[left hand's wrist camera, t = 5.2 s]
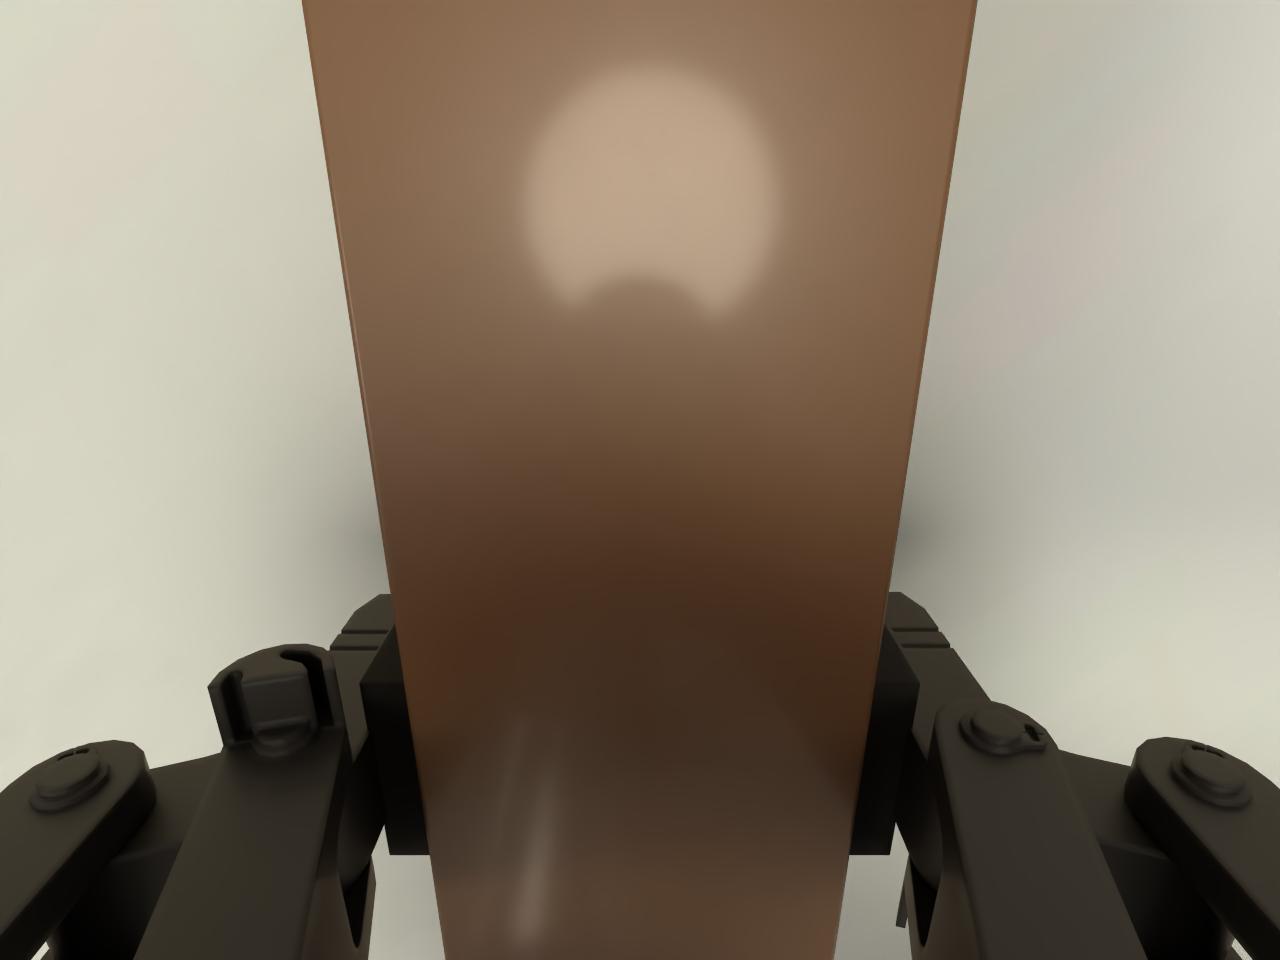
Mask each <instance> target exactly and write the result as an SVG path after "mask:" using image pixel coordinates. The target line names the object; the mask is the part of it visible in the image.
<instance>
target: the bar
mask: <svg viewBox="0 0 1280 960" xmlns="http://www.w3.org/2000/svg"><path fill="white" fill-rule="evenodd" d="M977 1H978V0H302V6H303V12H304V19H305V26H306V32H307V39H308V46H309V52H310V59H311V66H312V72H313V79H314V86H315V92H316V99H317V106H318V112H319V119H320V126H321V132H322V139H323V146H324V152H325V159H326V166H327V172H328V179H329V186H330V192H331V199H332V206H333V212H334V219H335V226H336V232H337V239H338V246H339V252H340V259H341V266H342V272H343V279H344V286H345V292H346V299H347V306H348V312H349V319H350V326H351V332H352V339H353V346H354V352H355V359H356V366H357V372H358V379H359V386H360V392H361V399H362V406H363V412H364V419H365V426H366V432H367V439H368V446H369V452H370V459H371V466H372V472H373V479H374V486H375V492H376V499H377V506H378V512H379V519H380V526H381V532H382V539H383V546H384V552H385V559H386V566H387V572H388V579H389V586H390V592H391V599H392V606H393V612H394V619H395V626H396V632H397V639H398V646H399V652H400V659H401V666H402V672H403V679H404V686H405V692H406V699H407V706H408V712H409V719H410V726H411V732H412V739H413V746H414V752H415V759H416V766H417V772H418V779H419V786H420V792H421V799H422V806H423V812H424V819H425V826H426V832H427V839H428V846H429V852H430V859H431V866H432V872H433V879H434V885H435V892H436V899H437V905H438V912H439V919H440V925H441V932H442V939H443V945H444V952H445V959H446V960H834V953H835V947H836V940H837V933H838V927H839V920H840V913H841V907H842V900H843V893H844V887H845V880H846V873H847V867H848V860H849V853H850V847H851V840H852V833H853V827H854V820H855V813H856V807H857V800H858V793H859V787H860V780H861V773H862V767H863V760H864V753H865V747H866V740H867V733H868V727H869V720H870V713H871V707H872V700H873V693H874V687H875V680H876V673H877V667H878V660H879V653H880V647H881V640H882V633H883V627H884V620H885V613H886V607H887V600H888V594H889V587H890V580H891V574H892V567H893V560H894V554H895V547H896V540H897V534H898V527H899V520H900V514H901V507H902V500H903V494H904V487H905V480H906V474H907V467H908V460H909V454H910V447H911V440H912V434H913V427H914V420H915V414H916V407H917V400H918V394H919V387H920V380H921V374H922V367H923V360H924V354H925V347H926V340H927V334H928V327H929V320H930V314H931V307H932V300H933V294H934V287H935V280H936V274H937V267H938V260H939V254H940V247H941V240H942V234H943V227H944V220H945V214H946V207H947V200H948V194H949V187H950V181H951V174H952V167H953V161H954V154H955V147H956V141H957V134H958V127H959V121H960V114H961V107H962V101H963V94H964V87H965V81H966V74H967V67H968V61H969V54H970V47H971V41H972V34H973V27H974V21H975V14H976V7H977Z"/></svg>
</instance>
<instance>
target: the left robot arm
mask: <svg viewBox="0 0 1280 960" xmlns="http://www.w3.org/2000/svg"><path fill="white" fill-rule="evenodd" d="M341 631H342V632H341V634H338V636H337V637H336V639H335V640H334V641H333V643H332V644H331V646H330V650H329V651H326V650H325V649H324V648H322V647H318V646H314V645H310V644H284V645H280V646H276V647H271V648H267V649H263V650H260V651H257V652H255V653H252V654H250V655H248V656H245V657H243V658H241V659H238V660H237V661H235V662H234V663H232V664H231V665H229V666H228V667H226V668H225V669H223V670H222V671H220V672H219V673H218V674H217V676H216V677H215V678H214V679H213V681H212V682H211V683H210V684H209V685H208V691H209V694H210V698H211V702H212V705H213V709H214V713H215V716H216V720H217V723H218V727H219V731H220V734H221V738H222V742H223V745H224V746H223V748H222V750H221V753H217V754H214V755H210V756H207V757H203V758H199V759H194V760H190V761H185V762H181V763H176V764H172V765H167V766H163V767H158V768H154V769H149V766H148V763H147V760H146V757H145V754H144V751H142V750H141V749H140V748H139V747H138V746H136V745H135V744H134V743H131V742H125V741H118V740H110V741H103V742H95V743H89V744H86V745H82V746H78V747H76V748H72V749H69V750H67V751H64V752H61V753H59V754H57V755H55V756H53V757H51V758H49V759H47V760H46V761H44V762H42V763H40V764H38V765H36V766H34V767H32V768H31V769H30V770H28V771H27V772H26V773H24V774H23V775H22V776H20V777H19V778H18V779H16V780H15V781H14V782H12V783H11V784H10V785H8V786H7V787H6V788H5V789H4V790H3V791H2V792H1V793H0V960H31V959H32V958H33V957H34V955H35V954H36V953H37V952H38V950H39V949H40V948H41V947H42V945H43V944H44V943H45V942H47V945H48V947H49V950H48V951H47V952H46V953H45V955H44V956H43V957H42V958H41V960H368V954H369V945H370V936H371V926H372V917H373V908H374V898H375V889H376V879H375V872H374V866H373V861H372V856H371V855H372V852H373V850H374V847H375V845H376V843H377V840H378V838H379V836H380V833H381V831H382V828H383V826H384V825H385V831H386V837H387V842H388V848H389V853H390V855H430V852H429V846H428V839H427V832H426V826H425V819H424V812H423V806H422V799H421V792H420V786H419V779H418V772H417V766H416V759H415V752H414V746H413V739H412V732H411V726H410V719H409V712H408V706H407V699H406V692H405V686H404V679H403V672H402V666H401V659H400V652H399V646H398V639H397V632H396V626H395V619H394V612H393V606H392V599H391V594H379V595H378V596H376V597H375V598H374V599H372V600H371V601H369V602H368V603H366V604H365V605H363V606H362V607H360V608H359V609H357V610H356V611H355V612H354V614H353V615H352V616H351V618H350V619H349V621H348V622H347V623H346V625H345V626H344V628H343V629H342V630H341ZM895 823H896V824H897V826H898V828H899V831H900V833H901V835H902V838H903V840H904V843H905V845H906V847H907V850H908V852H909V856H908V861H907V866H906V871H905V876H904V882H903V887H902V892H901V897H900V902H899V908H898V914H897V921H896V926H898V927H902V928H905V926H906V921H907V916H908V925H909V934H910V943H911V952H912V960H1242V959H1241V957H1240V956H1239V955H1238V954H1237V952H1236V951H1235V950H1234V949H1233V947H1232V946H1231V945H1232V943H1233V941H1234V939H1235V938H1236V940H1237V941H1238V942H1239V943H1240V945H1241V946H1242V947H1243V948H1244V949H1245V951H1246V952H1247V953H1248V954H1249V956H1250V957H1251V958H1252V959H1253V960H1280V789H1279V788H1278V787H1277V786H1276V785H1275V784H1274V783H1273V782H1271V781H1270V780H1269V779H1267V778H1266V777H1265V776H1263V775H1262V774H1261V773H1259V772H1258V771H1257V770H1255V769H1254V768H1253V767H1251V766H1250V765H1249V764H1247V763H1245V762H1243V761H1241V760H1239V759H1237V758H1235V757H1233V756H1231V755H1230V754H1228V753H1226V752H1224V751H1222V750H1220V749H1217V748H1214V747H1212V746H1209V745H1204V744H1203V743H1199V742H1195V741H1192V740H1186V739H1179V738H1171V737H1162V738H1155V739H1148V740H1146V741H1145V742H1144V743H1143V744H1141V745H1140V746H1139V747H1138V748H1137V749H1136V752H1135V755H1134V758H1133V761H1132V764H1131V766H1126V765H1122V764H1117V763H1113V762H1108V761H1104V760H1099V759H1094V758H1090V757H1085V756H1081V755H1076V754H1073V753H1069V752H1066V751H1062V750H1059V749H1058V747H1057V745H1056V743H1055V742H1054V740H1053V739H1052V738H1051V736H1050V735H1049V733H1048V732H1047V730H1046V729H1045V728H1043V727H1042V726H1041V725H1040V724H1038V723H1037V722H1036V721H1034V720H1033V719H1032V718H1031V717H1029V716H1028V715H1026V714H1024V713H1022V712H1020V711H1018V710H1016V709H1014V708H1012V707H1010V706H1007V705H1005V704H1001V703H997V702H993V701H991V700H990V699H989V697H988V696H987V695H986V693H985V692H984V690H983V689H982V688H981V686H980V685H979V683H978V682H977V681H976V679H975V678H974V677H973V675H972V674H971V672H970V671H969V670H968V668H967V667H966V665H965V664H964V663H963V661H962V660H961V659H960V657H959V656H958V654H957V653H956V652H955V650H954V649H953V648H950V643H949V642H948V641H947V639H946V638H945V636H944V635H943V634H942V632H939V630H938V627H937V625H936V624H935V622H934V621H933V620H932V618H931V617H930V616H929V614H928V613H927V611H926V610H925V609H924V608H923V607H921V606H920V605H918V604H917V603H915V602H914V601H913V600H911V599H910V598H908V597H907V596H905V595H904V594H902V593H901V592H889V594H888V600H887V607H886V613H885V620H884V627H883V633H882V640H881V647H880V653H879V660H878V667H877V673H876V680H875V687H874V693H873V700H872V707H871V713H870V720H869V727H868V733H867V740H866V747H865V753H864V760H863V767H862V773H861V780H860V787H859V793H858V800H857V807H856V813H855V820H854V827H853V833H852V840H851V847H850V853H849V855H890V851H891V845H892V840H893V834H894V828H895Z"/></svg>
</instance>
